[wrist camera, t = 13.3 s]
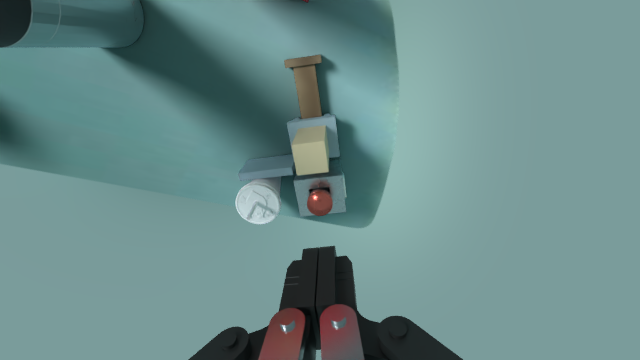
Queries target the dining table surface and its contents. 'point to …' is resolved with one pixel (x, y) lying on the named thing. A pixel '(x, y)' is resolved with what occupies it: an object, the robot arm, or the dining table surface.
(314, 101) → the rail
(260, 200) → the smoothie
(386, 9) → the dining table surface
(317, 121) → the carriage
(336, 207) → the gauge cabinet
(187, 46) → the dining table surface
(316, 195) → the gauge button
